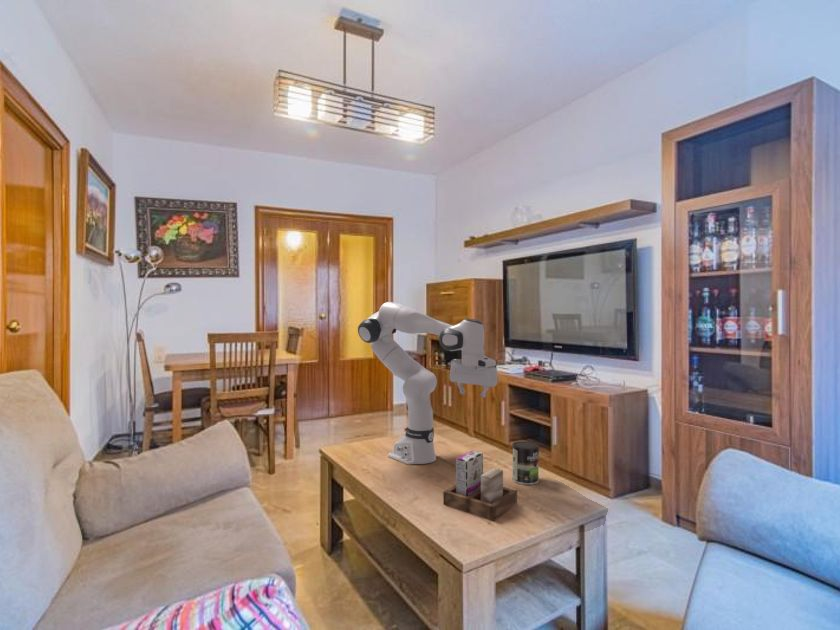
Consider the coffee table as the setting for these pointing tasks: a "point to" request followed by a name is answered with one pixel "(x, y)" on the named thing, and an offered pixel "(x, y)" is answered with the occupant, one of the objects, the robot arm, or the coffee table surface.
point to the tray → (484, 497)
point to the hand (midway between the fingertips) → (472, 395)
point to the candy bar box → (469, 473)
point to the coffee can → (525, 462)
